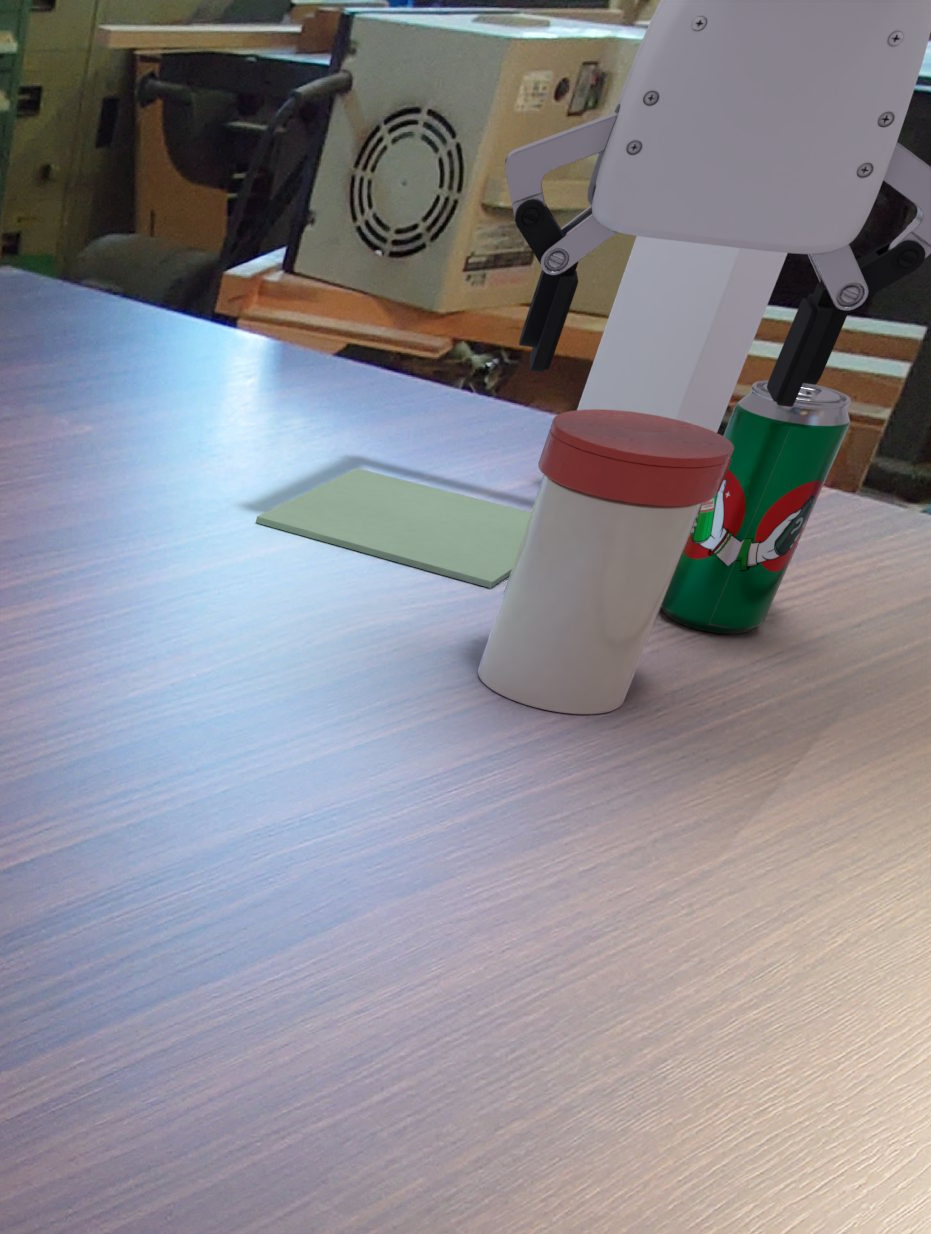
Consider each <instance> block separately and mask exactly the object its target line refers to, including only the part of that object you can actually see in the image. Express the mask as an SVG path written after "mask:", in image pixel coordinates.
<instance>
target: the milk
mask: <svg viewBox="0 0 931 1234" xmlns="http://www.w3.org/2000/svg"><path fill="white" fill-rule="evenodd" d="M787 256H788V253H784V252H773V251H764V250H755V249H746V248H737V247H728V246H719V245H710V244H701V243H692V242H684V241H675V240H667V239H658V238H650V237H642V236H635V240H634V243H633V246H632V247H631V251H630V254H629V258H628V259H627V263H626V266H625V269H624V272H623V275H622V278H621V279H620V280H621V281H620V283H619V286H618V289H617V292H616V295H615V297H614V301H613V304H612V307H611V310H610V312H609V315H608V318H607V321H606V324H605V327H604V330H603V333H602V335H601V339H600V342H599V345H598V348H597V351H596V353H595V357H594V358H593V361H592V365H591V368H590V371H589V374H588V376H587V379H586V383H585V385H584V388H583V391H582V394H581V397H580V400H579V402H578V407H577V408H576V410H590V409H601V410H619V411H629V412H637V413H645V414H651V415H657V416H662V417H667V418H671V419H676V420H680V421H684V422H687V423H691V424H694V425H698V426H700V427H703V428H706V429H709V430H711V431H714V432H716V433H718V431H719V430H720V426H721V424H722V421H723V419H724V416H725V414H726V412H727V409H728V406H729V404H730V401H731V399H732V396H733V394H734V392H735V388H736V385H737V383H738V382H739V381H738V380H739V378H740V376H741V373H742V371H743V367H744V366H745V363H746V360H747V357H748V355H749V353H750V350H751V348H752V345H753V342H754V340H755V338H756V335H757V332H758V330H759V327H760V325H761V322H762V319H763V317H764V314H765V312H766V310H767V306H768V304H769V302H770V299H771V297H772V294H773V291H774V289H775V286H776V283H777V281H778V279H779V276H780V273H781V271H782V268H783V266H784V263H785V261H786V258H787Z"/></svg>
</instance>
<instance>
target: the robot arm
mask: <svg viewBox="0 0 931 1234" xmlns="http://www.w3.org/2000/svg"><path fill="white" fill-rule="evenodd" d="M930 37H931V0H659V2H658V4H657V7H656V9H655V11H654V12H653V15H652V17H651V19H650V21H649V24H648V26H647V28H646V30H645V33H644V35H643V38H642V40H641V42H640V44H639V46H638V49H637V51H636V54H635V57H634V59H633V61H632V64H631V67H630V69H629V72H628V74H627V76H626V78H625V82H624V84H623V86H622V89H621V92H620V94H619V97H618V99H617V102H616V105H615V107H614V111H613V112H611V113H608V114H606V115H603V116H600V117H598V118H595V119H592V120H589V121H586V122H584V123H581V124H579V125H576V126H573V127H570V128H568V129H566V130H563V131H559V132H557V133H554V134H552V135H549V136H547V137H543V138H541V139H538V140H536V141H532V142H529V143H527V144H525V145H522V146H519V147H516V148H514V149H512V150H511V151H510V152H509V153H508V154H507V155H506V157H505V160H504V170H505V175H506V181H507V186H508V191H509V196H510V201H511V207H512V211H513V217H514V221H515V225H516V227H517V229H518V231H519V232H520V234H521V235H522V237H523V238H524V241H525V242H526V244H527V245H528V246H529V248H530V249H531V251H532V253H533V255H534V256H535V258H536V259H537V261H538V263H539V264H540V267H541V271H540V275H539V277H538V281H537V284H536V286H535V290H534V293H533V296H532V299H531V303H530V305H529V308H528V312H527V314H526V317H525V320H524V323H523V326H522V329H521V333H520V337H519V341H518V346H521V347H529V348H531V351H530V355H529V372H533V373H540V374H541V373H542V374H543V372H544V371H549V370H550V367H551V365H552V362H553V359H554V356H555V354H556V351H557V347H558V345H559V342H560V338H561V335H562V332H563V329H564V327H565V324H566V320H567V318H568V314H569V311H570V309H571V307H572V306H571V305H572V303H573V300H574V298H575V294H576V291H577V288H578V285H579V276H578V271H577V268H578V265H579V261H582V260H583V258H585V257H586V256H587V255H589V254H591V252H593V251H594V250H596V249H597V248H598V247H599V246H601V245H602V244H604V243H605V242H606V241H608V240H610V238H612V237H613V236H614V235H615V234H617V233H621V234H623V235H628V236H629V235H630V236H635V237H637V236H642V237H650V238H658V239H667V240H675V241H684V242H692V243H701V244H710V245H719V246H728V247H737V248H746V249H755V250H764V251H773V252H784V253H787V254H797V255H798V254H800V255H807V256H808V258H809V260H810V263H811V265H812V267H813V269H814V272H815V274H816V276H817V278H818V281H819V282H817V284H816V286H815V289H814V292H813V293H809V294H808V296H807V297H803V298H802V299H801V301H800V303H799V306H798V308H797V310H796V313H795V316H794V318H793V320H792V323H791V325H790V328H789V330H788V333H787V334H786V337H785V340H784V342H783V345H782V347H781V349H780V352H779V354H778V357H777V358H776V362H775V364H774V366H773V369H772V371H771V374H770V377H769V379H768V380H769V381H768V384H767V389H768V391H769V393H770V395H771V397H772V399H773V401H775V402H776V403H777V405H780V406H788V407H792V406H793V405H794V403H795V401H796V399H797V396H798V394H799V391H800V389H801V387H802V384H803V383H805V384H812V385H818V383H819V381H820V379H821V377H822V375H823V373H824V371H825V369H826V366H827V365H828V362H829V360H830V357H831V355H832V352H833V350H834V347H835V345H836V343H837V340H838V338H839V335H840V333H841V331H842V329H843V326H844V325H845V322H846V320H847V317H848V316H849V312H850V311H852V310H855V309H857V308H859V307H860V306H862V305H863V304H864V303H865V302H866V300H867V299H868V298H870V297H872V296H873V295H876V294H877V293H879V292H880V291H882V290H884V289H885V288H887V287H890V286H891V285H893V284H894V283H896V282H898V281H899V280H901V279H903V278H905V277H906V276H909V275H910V274H912V273H913V272H915V271H917V270H918V269H920V267H921V266H922V265H923V263H924V262H925V260H926V258H928V257H929V256H930V255H931V166H930V165H929V164H928V163H927V162H925V161H924V160H922V159H921V158H919V157H918V156H917V155H916V154H914V153H913V152H912V151H911V150H909V149H908V148H906V147H905V146H904V145H903V144H901V143H900V142H898V140H899V137H900V133H901V130H902V129H903V128H902V127H903V125H904V121H905V120H906V119H905V118H906V116H907V113H908V110H909V106H910V103H911V100H912V98H913V95H914V91H915V88H916V84H917V82H918V78H919V76H920V72H921V70H922V66H923V62H924V58H925V55H926V51H927V48H928V44H929V40H930ZM597 154H598V155H597ZM595 155H597V157H596V160H595V164H594V167H593V170H592V173H591V176H590V180H589V184H588V189H587V194H586V195H587V196H586V197H587V202H588V203H589V204H590V205H589V206H588V207H587V208H585V209H584V210H583V211H581V212H580V213H578V214H577V215H576V216H575V217H574V218H572V219H571V220H570V221H568V222H567V223H566V224H565V225H563V226H562V227H560V225H559V222H558V221H557V220H556V218H555V217H554V215H553V214H552V212H551V210H550V208H549V207H548V205H547V203H546V200H545V194H544V190H543V189H544V188H543V180H544V178H545V176H546V175H548V173H550V172H551V171H553V170H556V169H558V168H559V169H560V168H561V167H564V166H567V165H570V164H573V163H575V162H578V161H581V160H584V159H588V158H590V157H592V156H595ZM883 182H885V183H886V184H887V185H888V186H890V187H891V188H893V189H894V190H895V191H897V193H899V194H901V195H902V196H904V197H905V198H906V199H907V200H909V201H910V202H911V203H913V204H914V205H915V207H916V209H917V212H916V215H915V217H914V219H913V220H912V222H910V223H909V224H908V225H907V226H906V227H905V229H904V230H903V231H902V232H901V233H900V234H899V235H898V236H896V237H895V238H893V239H891V240H890V241H887V242H886V243H884V244H882V245H881V246H879V247H878V248H876V249H874V250H872V251H871V252H869V253H867V254H866V255H864V256H862V257H861V258H859V259H856V256H855V255H854V252H853V250H852V248H851V246H850V244H851V243H852V242H854V240H855V239H856V238H857V237H858V235H859V234H860V232H861V230H862V229H863V227H864V226H865V224H866V222H867V220H868V218H869V216H870V213H871V211H872V209H873V207H874V204H875V202H876V200H877V198H878V195H879V192H880V190H881V186H882V184H883Z"/></svg>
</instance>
